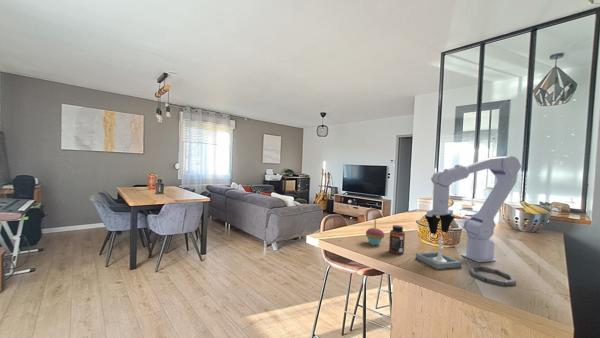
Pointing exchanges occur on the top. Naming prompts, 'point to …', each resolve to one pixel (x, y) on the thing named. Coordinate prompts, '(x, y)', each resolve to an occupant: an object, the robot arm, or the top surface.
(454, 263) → the tray
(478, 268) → the collar
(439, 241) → the chess piece
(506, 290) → the top surface
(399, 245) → the supplement bottle
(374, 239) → the cupcake
